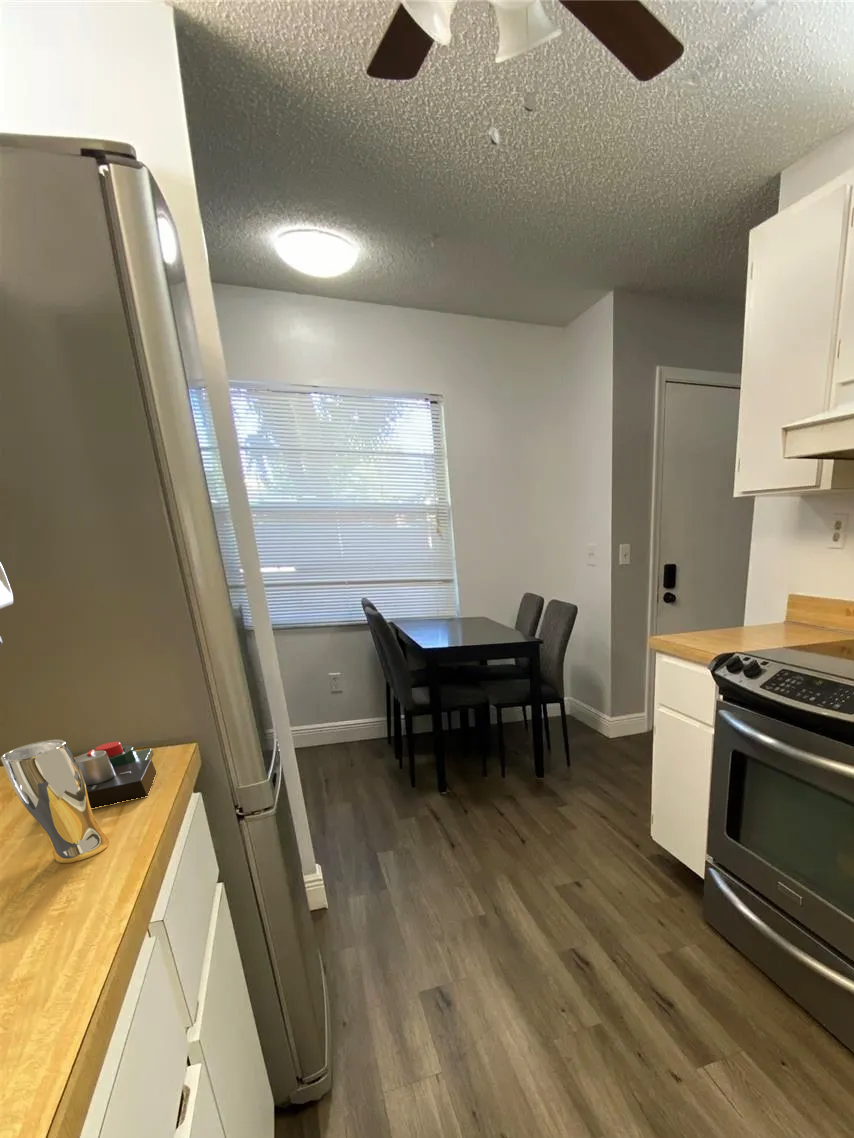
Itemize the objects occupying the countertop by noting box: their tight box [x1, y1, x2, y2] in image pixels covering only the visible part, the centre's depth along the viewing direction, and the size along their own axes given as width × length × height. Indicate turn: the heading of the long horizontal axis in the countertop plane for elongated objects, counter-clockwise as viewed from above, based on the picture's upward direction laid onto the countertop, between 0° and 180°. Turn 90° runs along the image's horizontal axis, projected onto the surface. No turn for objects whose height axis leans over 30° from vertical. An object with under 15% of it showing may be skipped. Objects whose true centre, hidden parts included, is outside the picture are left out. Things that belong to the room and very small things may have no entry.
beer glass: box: [0, 739, 110, 864], centre depth 83 cm, size 7×7×15 cm
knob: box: [74, 749, 116, 785], centre depth 100 cm, size 4×4×4 cm
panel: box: [86, 759, 157, 808], centre depth 102 cm, size 13×10×3 cm
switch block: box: [108, 744, 155, 767], centre depth 110 cm, size 10×8×4 cm
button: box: [95, 741, 123, 757], centre depth 109 cm, size 4×4×2 cm
